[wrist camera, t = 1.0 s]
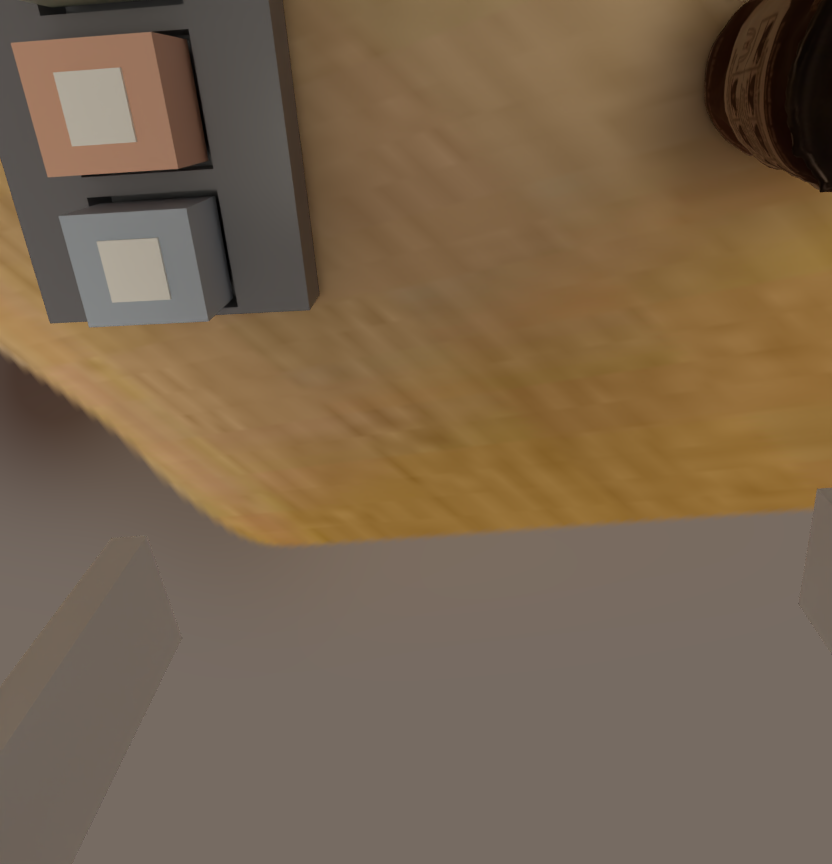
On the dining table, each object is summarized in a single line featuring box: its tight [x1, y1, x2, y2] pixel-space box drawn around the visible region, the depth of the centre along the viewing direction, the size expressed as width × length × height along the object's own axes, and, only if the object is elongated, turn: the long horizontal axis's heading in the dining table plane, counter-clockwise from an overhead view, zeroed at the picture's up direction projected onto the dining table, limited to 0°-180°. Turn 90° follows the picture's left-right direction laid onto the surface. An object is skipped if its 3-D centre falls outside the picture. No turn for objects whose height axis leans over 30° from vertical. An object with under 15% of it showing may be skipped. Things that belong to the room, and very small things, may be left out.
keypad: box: [0, 0, 319, 323], centre depth 28 cm, size 23×12×3 cm, turn 4°
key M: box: [59, 196, 233, 327], centre depth 29 cm, size 4×5×4 cm
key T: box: [11, 32, 209, 177], centre depth 26 cm, size 4×5×4 cm
